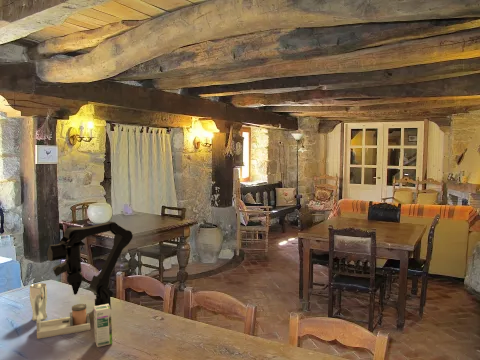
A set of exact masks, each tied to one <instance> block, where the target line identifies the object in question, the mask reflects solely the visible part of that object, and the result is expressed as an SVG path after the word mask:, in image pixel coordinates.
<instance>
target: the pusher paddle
mask: <svg viewBox="0 0 480 360" xmlns="http://www.w3.org/2000/svg"><path fill="white" fill-rule="evenodd" d="M69 317H70V326H73V317H72V311H71V312H69ZM68 322H69V320H64V321H62V323H68Z"/></svg>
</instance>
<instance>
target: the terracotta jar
mask: <svg viewBox="0 0 480 360" xmlns="http://www.w3.org/2000/svg"><path fill="white" fill-rule="evenodd" d="M71 312H72V317H73V326H75V325H81V324H87V318H86V314H87V304H85V303H77V304H74V305H72V306H71Z"/></svg>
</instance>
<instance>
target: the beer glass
mask: <svg viewBox="0 0 480 360" xmlns="http://www.w3.org/2000/svg"><path fill="white" fill-rule="evenodd" d="M47 301H48V289H47V284H46V283H44V282H39V283H34V284H31V285H30V286H29V302H30V305H31V309H32V317H31V320H32V321H33V322H37V316H38V315H40V318H41V321H46V319H48V314H47Z"/></svg>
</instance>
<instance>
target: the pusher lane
mask: <svg viewBox="0 0 480 360" xmlns="http://www.w3.org/2000/svg"><path fill="white" fill-rule="evenodd" d="M89 315H90V314H89V313H86V318H87V324H81V325H75V326H70V316H69V317H62V318H56V319H55V318H54V319H49V320H42V321H41V318H40V315H38V316H37V321H36V338H37V340H38V339H39V340H40V339H45V338H50V337H56V336H57V337H58V336H63V335H69V334H75V333H79V332H86V331H91V321H90V316H89ZM64 320H69V322H68V323H62V321H64Z"/></svg>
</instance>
